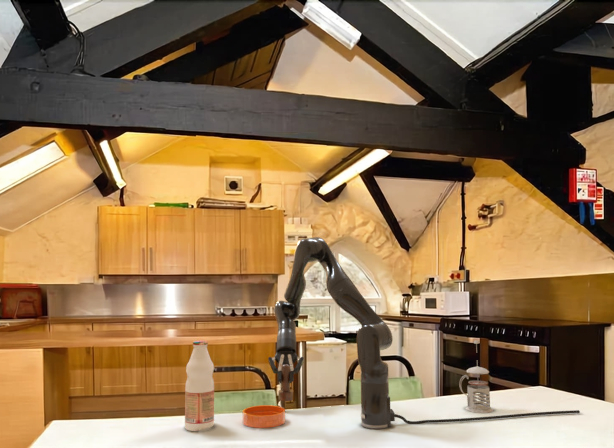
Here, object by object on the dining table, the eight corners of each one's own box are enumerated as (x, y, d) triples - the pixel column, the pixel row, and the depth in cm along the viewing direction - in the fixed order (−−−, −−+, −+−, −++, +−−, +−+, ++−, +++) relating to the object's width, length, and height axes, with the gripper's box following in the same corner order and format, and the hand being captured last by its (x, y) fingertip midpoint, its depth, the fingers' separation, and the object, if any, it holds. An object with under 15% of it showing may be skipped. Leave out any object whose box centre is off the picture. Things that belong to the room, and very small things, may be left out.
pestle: (293, 397, 194) (292, 362, 195) (292, 401, 189) (292, 365, 190) (278, 397, 194) (278, 362, 195) (278, 401, 188) (278, 365, 190)
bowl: (285, 418, 184) (285, 405, 184) (284, 430, 169) (284, 415, 170) (244, 418, 183) (245, 405, 184) (240, 430, 169) (240, 416, 170)
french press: (497, 412, 189) (494, 341, 191) (464, 413, 189) (462, 342, 191) (488, 406, 198) (485, 338, 201) (457, 406, 199) (454, 338, 201)
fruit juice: (182, 432, 168) (183, 343, 171) (187, 423, 178) (188, 339, 180) (211, 431, 169) (212, 342, 171) (215, 423, 178) (216, 339, 181)
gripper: (267, 337, 200) (265, 376, 187) (304, 336, 201) (305, 375, 187) (268, 349, 205) (266, 388, 192) (304, 349, 205) (305, 387, 192)
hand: (285, 381), depth 190 cm, fingers closed on pestle, 3 cm apart
